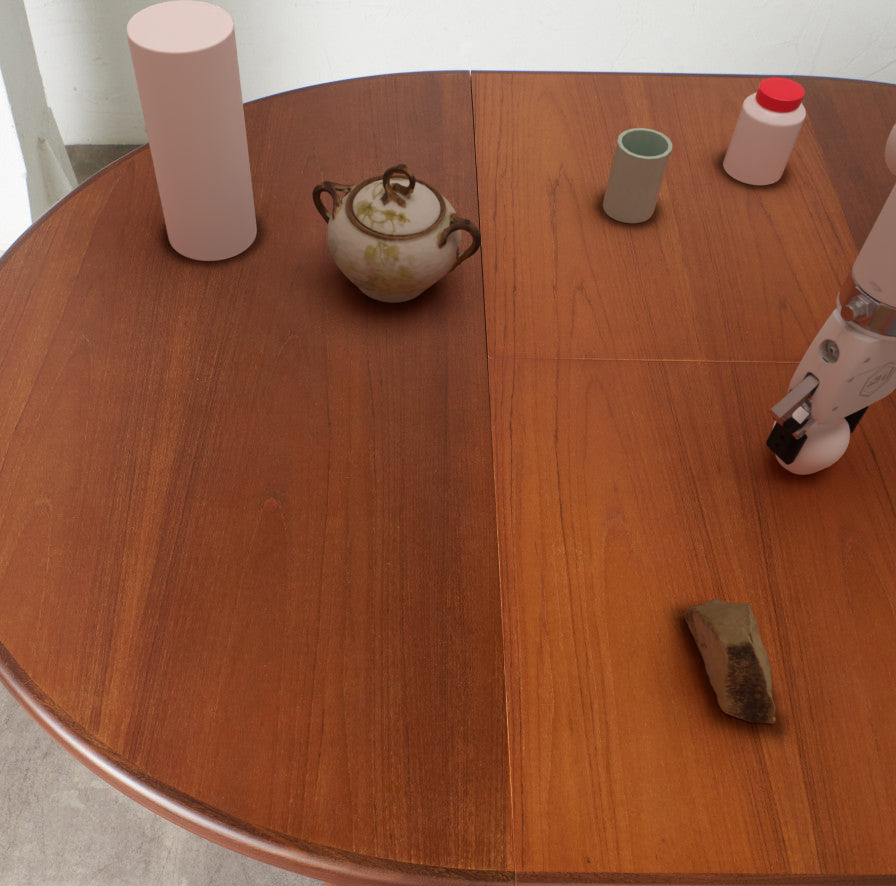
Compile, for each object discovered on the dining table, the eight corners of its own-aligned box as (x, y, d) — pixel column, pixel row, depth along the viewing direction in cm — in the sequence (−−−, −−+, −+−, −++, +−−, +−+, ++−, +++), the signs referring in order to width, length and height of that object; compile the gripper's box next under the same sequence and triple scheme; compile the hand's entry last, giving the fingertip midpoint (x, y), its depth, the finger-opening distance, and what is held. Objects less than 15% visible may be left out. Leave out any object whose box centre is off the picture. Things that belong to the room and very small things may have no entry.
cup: (632, 187, 121) (649, 122, 114) (664, 214, 118) (683, 149, 111) (592, 201, 119) (606, 136, 112) (623, 229, 116) (640, 164, 109)
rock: (658, 583, 82) (651, 674, 76) (743, 544, 77) (744, 639, 70) (734, 650, 86) (734, 743, 79) (821, 617, 80) (829, 715, 73)
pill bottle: (773, 192, 121) (805, 112, 112) (714, 174, 123) (741, 94, 114) (789, 162, 125) (821, 82, 116) (732, 145, 127) (760, 65, 118)
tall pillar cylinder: (152, 248, 112) (105, 39, 92) (194, 198, 118) (159, -9, 98) (232, 270, 110) (203, 60, 90) (271, 218, 116) (251, 10, 96)
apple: (772, 488, 92) (803, 434, 85) (752, 433, 96) (779, 378, 90) (842, 486, 92) (878, 432, 86) (819, 431, 96) (851, 376, 90)
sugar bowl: (493, 263, 112) (509, 149, 100) (451, 344, 103) (463, 230, 91) (341, 222, 116) (338, 108, 104) (289, 297, 107) (279, 182, 95)
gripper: (847, 361, 73) (768, 500, 87) (998, 291, 78) (900, 432, 92) (779, 304, 77) (714, 446, 91) (927, 241, 82) (843, 384, 96)
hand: (808, 438), depth 92 cm, fingers closed on apple, 7 cm apart
